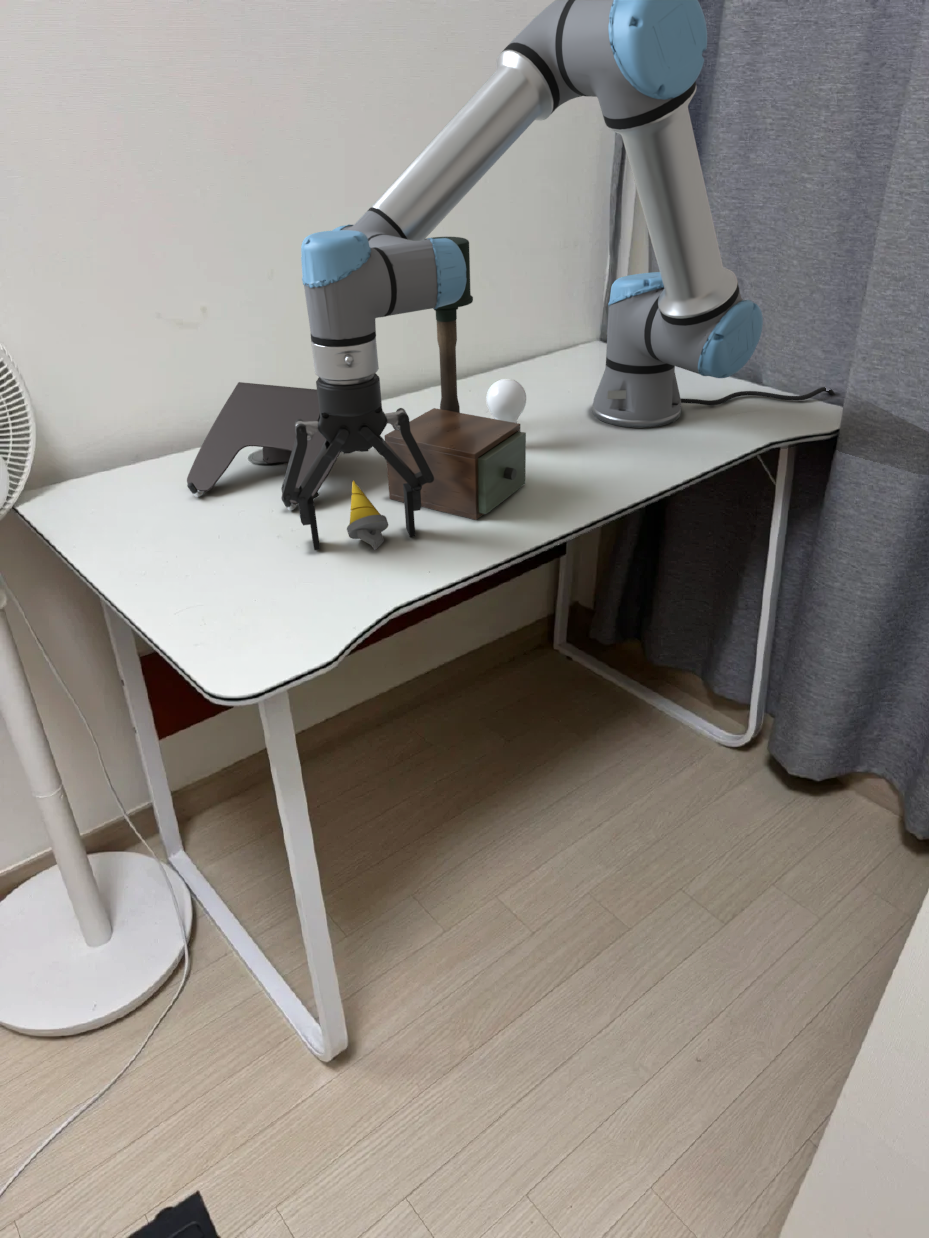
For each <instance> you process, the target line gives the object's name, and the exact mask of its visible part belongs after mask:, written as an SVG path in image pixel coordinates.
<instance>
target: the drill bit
mask: <svg viewBox="0 0 929 1238" xmlns="http://www.w3.org/2000/svg"><path fill="white" fill-rule="evenodd" d="M351 484H352V485H351V496H350V497H351V498H350V512H349V513H350V514H349V524H348V526H347V527H346V531H347V535H348V537H349V538H350V539H352V540H361V541H363V542H364V543H367V544H368V545H369V546H371V548H372V549H373V550H374V551H376V550H377V548H379V547H380V546H381V545H382V544H383V543H384V542H385V539H384V537H383V532H384V531H386V530H387V529H388V527H389V522H388V518H387V516H386V515H383V514H381V513H380V511H378V509H377V508H376V506H375V505H374V504H373V503H372V502H371V501H370V499H369V498H368V497H367V495H366V494H365V493H364V492H363V491H362V489H361V487H360V486H359V485H358V484H357V483H356V481H355V480H352V483H351Z"/></svg>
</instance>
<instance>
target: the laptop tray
mask: <svg viewBox="0 0 929 1238" xmlns="http://www.w3.org/2000/svg"><path fill="white" fill-rule="evenodd" d="M319 414H320V411H319V403H318V395H317V388H306V387H296V386H284V385H275V384H262V383H252V382H244V381H243V382H242V381H239V382H237V384H236V386H235V387H234V389H233V391H232V392H231V394H229V396H228V398H227V400H226V402H225V403H224V404H223V407H222V408H221V409H220V412H219V414H218V415H217V417H216V419H215V420H214V422H213V424H212V426H211V428H210V430H209V431H208V433H207V434H206V437H205V439H204V440H203V442H202V444H201V446H200V448H199V450H198V452H197V455H196V457H195V459H194V460H193V463H192V464H191V468H190V470H189V472H188V475H187V477H186V483H187V486H186V487H187V488H188V490H189V491H190V493H191V494H192V495H193V496H194V497H196V498H199V497H201V496H202V495H203V494H204V492H209V491H210V490H212V489H213V488H214V486H215V485H216V484H217V483H218V481H219V480H220V478H222V476H223V475H224V474H225V472H226V471H227V470H228V468H229V467H230V465H231V464H232V462H233V461H234V460H235V458H236V456H237V455H238V454H239V452H241V450H243V449H245V448H247V447H258V448H262V459H263V462H264V463H266V464H272V465H273V464H279V463H289V460H290V456H291V453H292V449H293V446H294V442H295V439H296V433H295V421H296V420H297V419H302V420H303V421H304V422H309V421H317V420H318V418H319ZM325 440H326V439H325V438H324V437H323V436H322V435H321V434H320V432H319V431H317V432H315V433H314V435H313V438H312V439H311V440H309V441H307V449H306V453H305V456H304V459H303V463H302V466H301V470H300V473H299V477H298V480H297V483H296V487H295V488H298V487H299V485H300V484H301V482H302V480H303V479H304V477H305V475H306V474H307V472H308V470H309V469H310V467H311V465H312V464H313V462H314V460H315V459H316V457H317V455H318V454H319V452H320V450H321V448H322V445H323V443H324V442H325ZM341 453H342V452H338V454H337V455H336V457H335V459H334V460H333V461H331V463H330V465H329V466H328V468H327V470H326V471H325V473H324V474H323V476H322V478H321V479H320V481H319V483H318V484H317V486H316V488H315V489H314V491H313V493H312V494H311V495H312V496H313V501H314V500H315V499H316V498H319V497H320V493H319V492H318V491H319V490H320V488H321V487H322V486H323V484H324V483H325V481H326V480H327V478H328V476H329V474H330V472H331V471H332V469H333V468H334V465H335V464H336V462H337V461H338V458H339V457H340V454H341ZM280 499H281V502H282V503H283V504H284V506H285V508H286V509H287V510H288V511H294V509H296V507H297V505H298V503H297V502H296V501H293V500H289V501H286V500H284V499H283V496H282V495H281V498H280Z"/></svg>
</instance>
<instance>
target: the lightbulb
mask: <svg viewBox="0 0 929 1238" xmlns="http://www.w3.org/2000/svg"><path fill="white" fill-rule="evenodd" d="M485 396H486V397H485V402H486V403H485V404H486V407H487V409H488V411H489V413H490V415H492V417H493V419H497V420H502V421H508V422H513V423H518V420H519V418H520V417H521V415H522V414H523V412H524V410H525V408H526V405H527V393H526V389H525V388H524V387H523V385H522V384H521V383H520V382H519V381H518V380H516V379H512V378H505V377H504V378H500V379H498V380H496V381H495V382H493V383H492V384H491V385H490V386H489V388H488V390H487V392H486V394H485Z"/></svg>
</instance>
